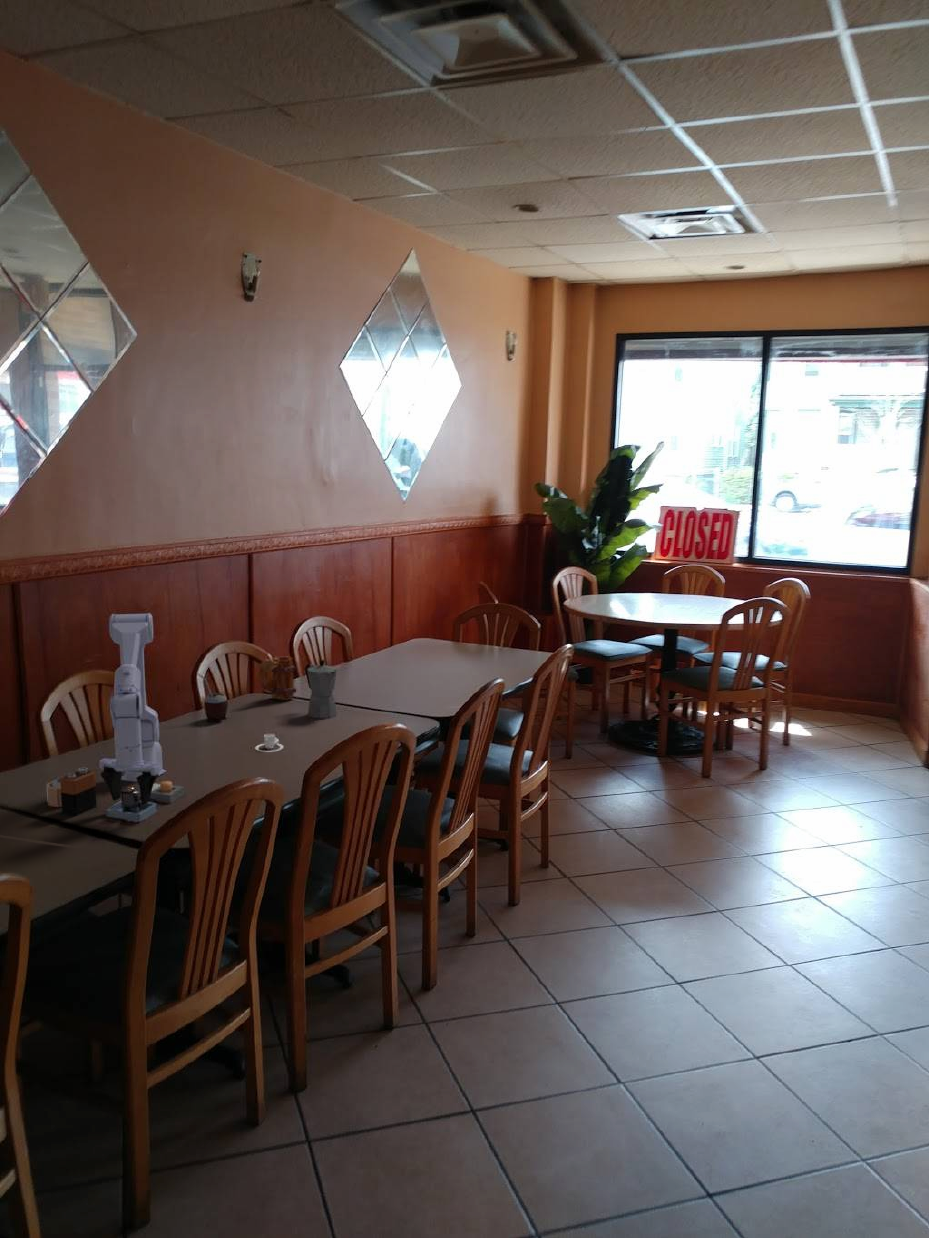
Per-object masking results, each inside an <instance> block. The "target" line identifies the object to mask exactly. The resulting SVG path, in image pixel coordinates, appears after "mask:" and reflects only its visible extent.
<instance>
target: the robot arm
mask: <svg viewBox="0 0 929 1238" xmlns="http://www.w3.org/2000/svg"><path fill="white" fill-rule="evenodd" d="M108 621H109V622H108V623H109V624H108V625H109V626H108V628H109V630H108V631H109V636H110V638H111V639H112V641H113V643H114V644H118V645H119V657H120V666H119V667H117V669H115V671H114V683H113V684H114V685H113V696H111V697H110V703H109V704H110V705H109V707H110V711H109V712H110V716H111V719H112V723H111V724H112V728H113V730H114V749H115V750H114V752H115V755H114V756H115V758H102V759H101V760H99V763H98V764H99V769H100V770H103V771H102V772H100V777H101V778H102V779H103V781H104V782H105V784H106V786H107V787H108V790H109V792H110V794H111V795H110V796H111V799H112V800H113V801H114V802H116V801H117V800H119V799H120V798H121V799H122V796H121V792H122V785H121V784H122V781H128V782H135V783H138V786H139V787H138V788H139V790H140V794H141V797H140V801H141V803H142V804H146V803H148V802H150V800H151V799H150V795H151V791H152V787H153V785H154V783H156V780H157V778H158V777H159V776H161V775H163V774H165V773H166V772H167V771H166V769H163V751H162V750H163V749H162V747H161V744H160V742H159V740H160V739H159V738H160V722H159V715H158V713H157V711H156V710H154V709H153V708H151V707H149V706H148V705H147V701H146V700H147V699H146V698H147V697H146V695H147V694H146V693H147V692H146V677H145V673H146V671H145V654H144V653H145V652H144V651H145V647H146V645H147V644H150V643H152V642H153V640H154V621H153V615H152V614H151V613H150V612H149V613H148V612H147V613H126V614H125V613H124V614H119V613H118V614H115V613H112V614H111V615H110V616H109V619H108ZM123 772H125V774H124V775H123Z"/></svg>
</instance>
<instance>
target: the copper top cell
mask: <svg viewBox="0 0 929 1238" xmlns="http://www.w3.org/2000/svg"><path fill="white" fill-rule="evenodd" d="M121 800H122V811H124V812H132V813H140V812H141V808H140V801H141V797H140V788H135V787H134V786H128V787H126V788H125V789H123V790H121Z"/></svg>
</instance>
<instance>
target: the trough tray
mask: <svg viewBox="0 0 929 1238" xmlns="http://www.w3.org/2000/svg"><path fill="white" fill-rule="evenodd" d="M140 808H141V812H140V813H132V812H124V811H122V799H121V800H120V801H117V803H115V804H113V805H111V806H110V807H108V808H106V809H104V815H105V817H107V818H116V819H122V821H123V820H131V821H137V822H140V821H142V820H144V819H145V820H146V819H148V818H149V817H151V816H153V815H155V814H156V813H158V812H159V811H158V803H156V802H151V801H149V802H148V803H146V804H142V803H141V800H140ZM145 820H144V821H145ZM137 822H136V823H137ZM142 822H143V821H142ZM140 823H141V822H140Z"/></svg>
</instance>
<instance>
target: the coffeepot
mask: <svg viewBox="0 0 929 1238" xmlns="http://www.w3.org/2000/svg"><path fill="white" fill-rule="evenodd" d="M318 661H319V662H318V663H319V665H317V664H314V663H310V662H309V663H307V664H306V666H305V667H304V672H305V677H306V679H307V685H308V687H309V689H310V690H311V695H310V697H309V704H308V710H307V714H308V716H309V717H310V718H312V719H329V718H333V717H335V716H336V715H338V714H337V713H338V712H337V708H336V702H335V701H336V700H335V696H334V694H333V692H334V689H335V685H336V684H335V683H336V677H337V670H338V669H337V668H336V667H335V666H330V665H325V660H324V659H320V660H318Z"/></svg>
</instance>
